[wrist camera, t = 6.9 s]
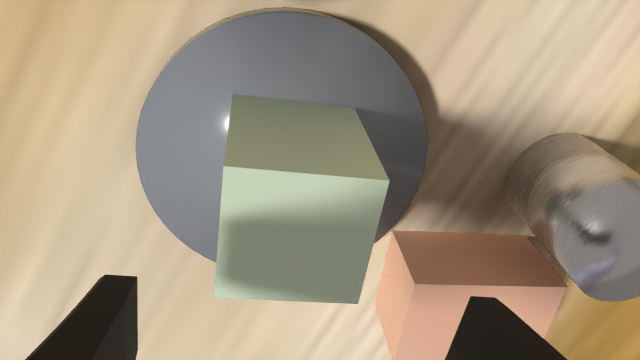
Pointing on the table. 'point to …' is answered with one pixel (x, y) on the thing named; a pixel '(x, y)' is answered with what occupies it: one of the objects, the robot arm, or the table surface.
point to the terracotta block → (458, 287)
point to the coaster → (278, 83)
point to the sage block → (297, 202)
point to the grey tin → (581, 212)
